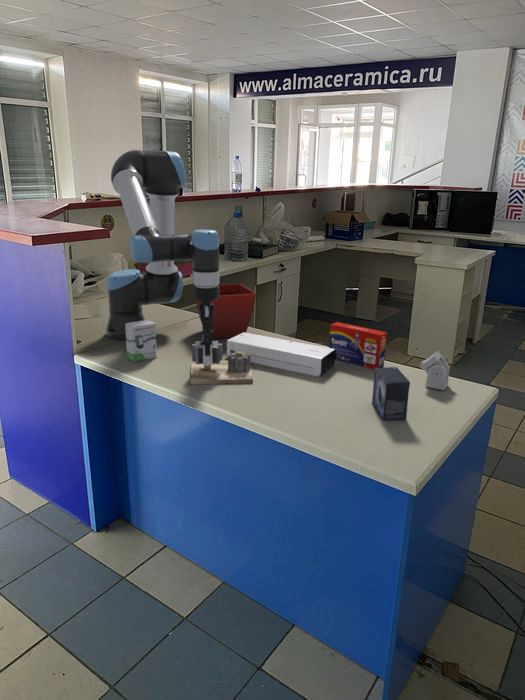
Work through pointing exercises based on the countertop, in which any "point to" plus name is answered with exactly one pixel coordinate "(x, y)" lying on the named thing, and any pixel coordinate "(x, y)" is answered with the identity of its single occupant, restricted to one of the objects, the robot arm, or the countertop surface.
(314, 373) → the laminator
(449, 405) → the countertop surface
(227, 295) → the plant pot
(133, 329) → the ink box
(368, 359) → the toy box
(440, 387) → the mechanical component
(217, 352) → the planet gear
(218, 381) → the gear puzzle board
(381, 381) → the small box
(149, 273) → the robot arm
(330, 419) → the countertop surface
